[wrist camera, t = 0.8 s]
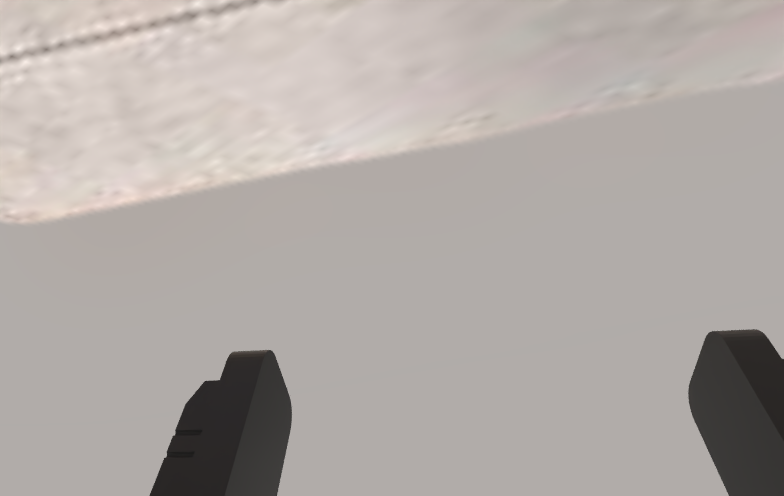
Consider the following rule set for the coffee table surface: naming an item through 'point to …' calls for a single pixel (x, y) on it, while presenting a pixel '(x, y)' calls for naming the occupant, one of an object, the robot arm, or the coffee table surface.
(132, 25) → the coffee table surface
